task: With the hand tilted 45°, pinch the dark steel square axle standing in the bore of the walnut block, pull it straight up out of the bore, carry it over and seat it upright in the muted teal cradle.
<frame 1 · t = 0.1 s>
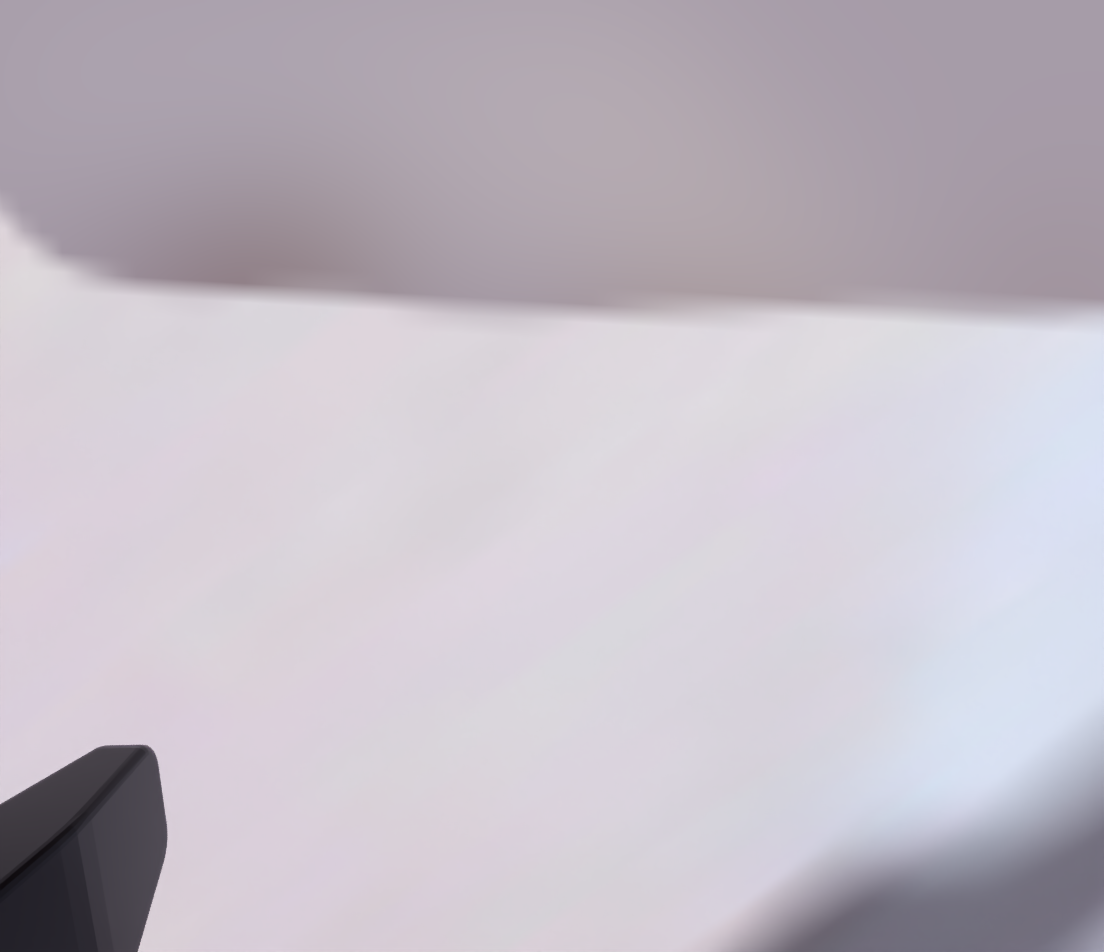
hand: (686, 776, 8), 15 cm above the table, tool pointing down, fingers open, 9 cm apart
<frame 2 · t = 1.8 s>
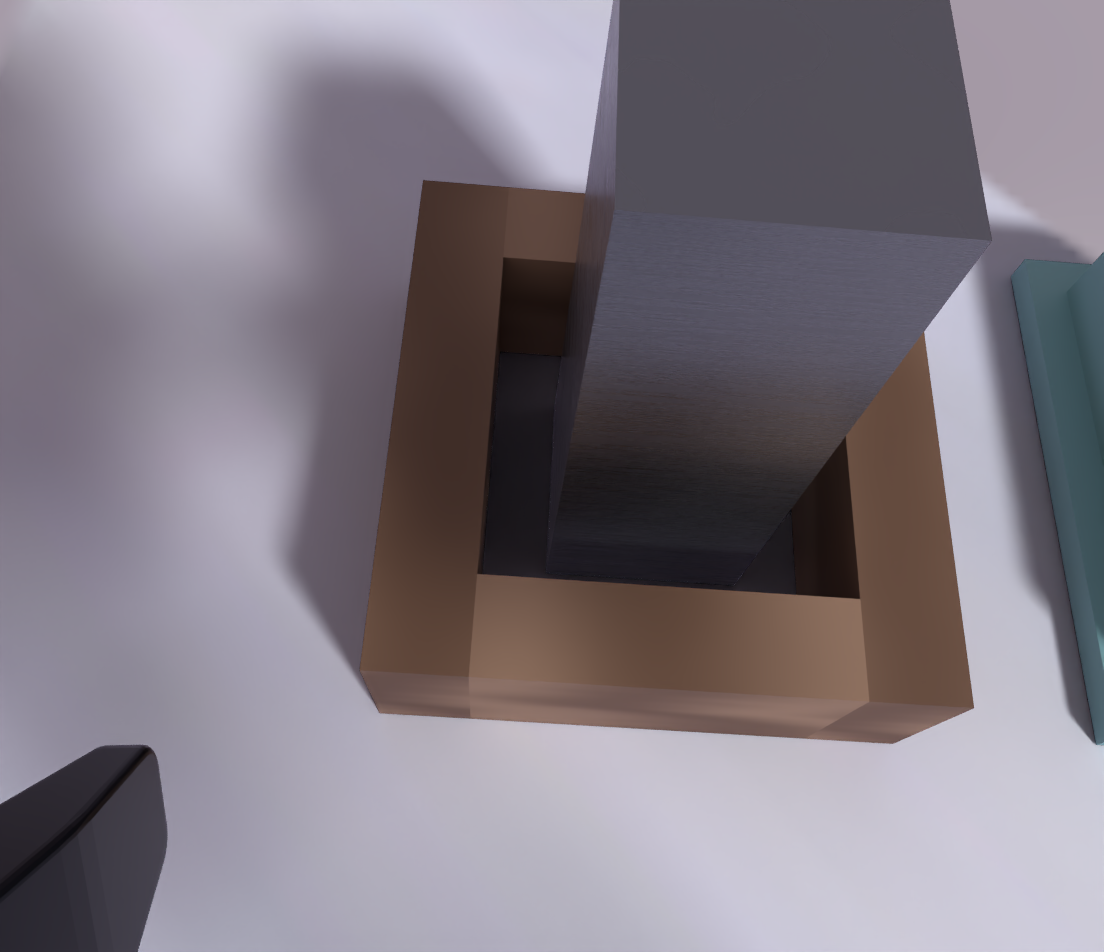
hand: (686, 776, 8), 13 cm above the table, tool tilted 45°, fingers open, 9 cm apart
bore block: (641, 492, 24), on the table
square axle: (692, 354, 18), in the bore block
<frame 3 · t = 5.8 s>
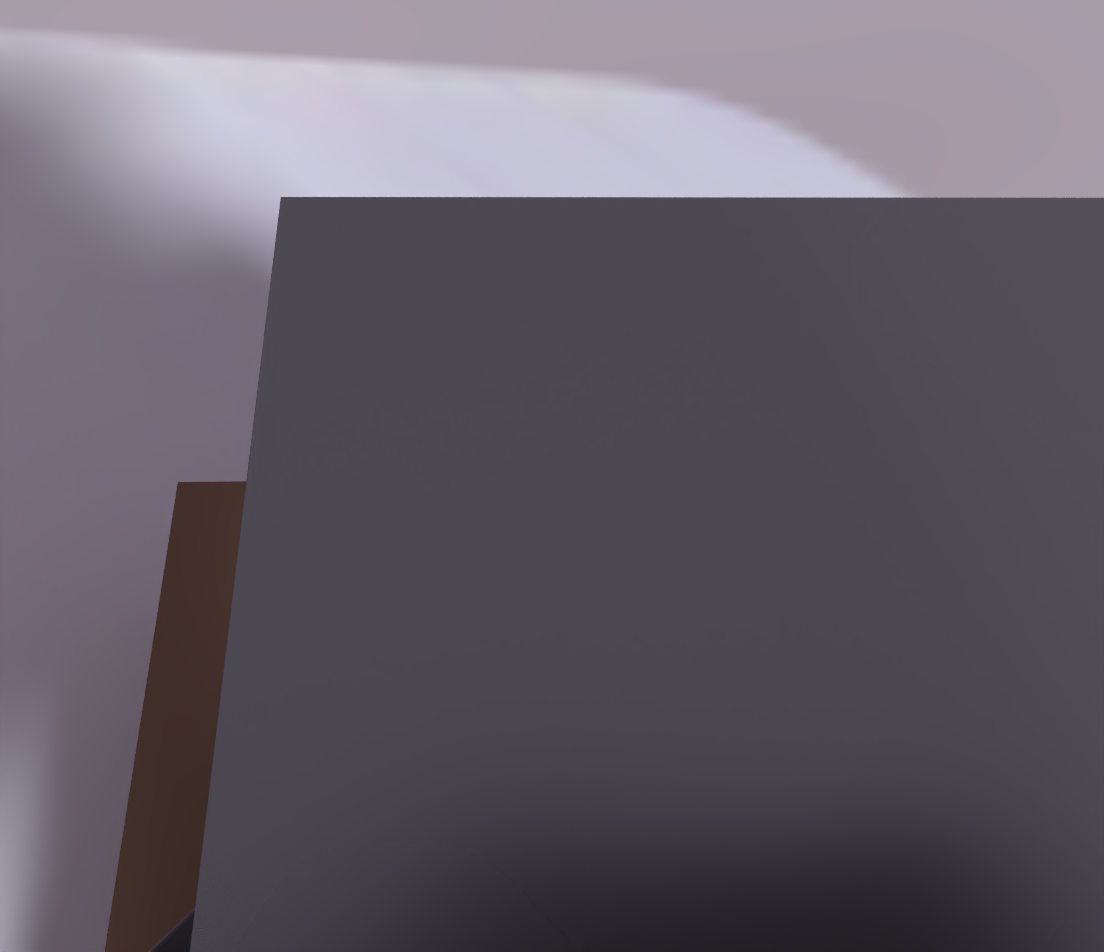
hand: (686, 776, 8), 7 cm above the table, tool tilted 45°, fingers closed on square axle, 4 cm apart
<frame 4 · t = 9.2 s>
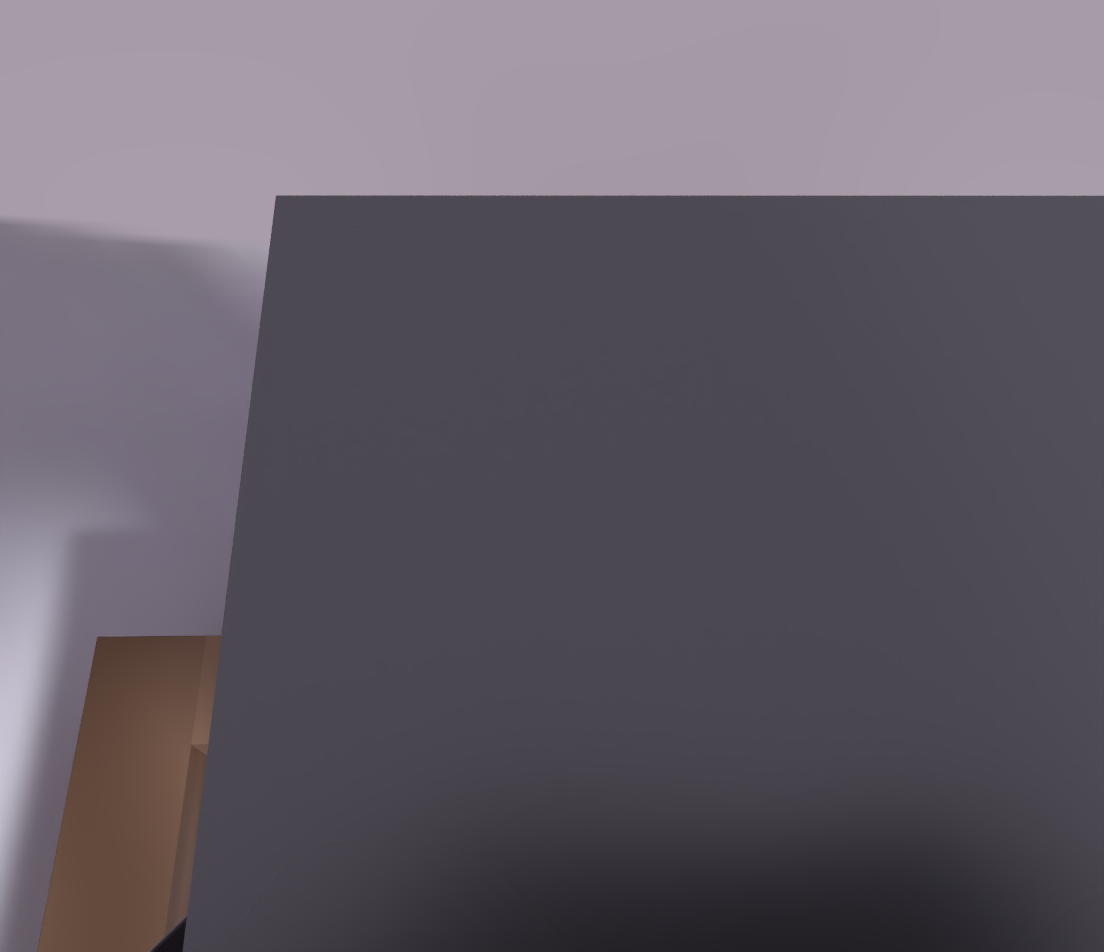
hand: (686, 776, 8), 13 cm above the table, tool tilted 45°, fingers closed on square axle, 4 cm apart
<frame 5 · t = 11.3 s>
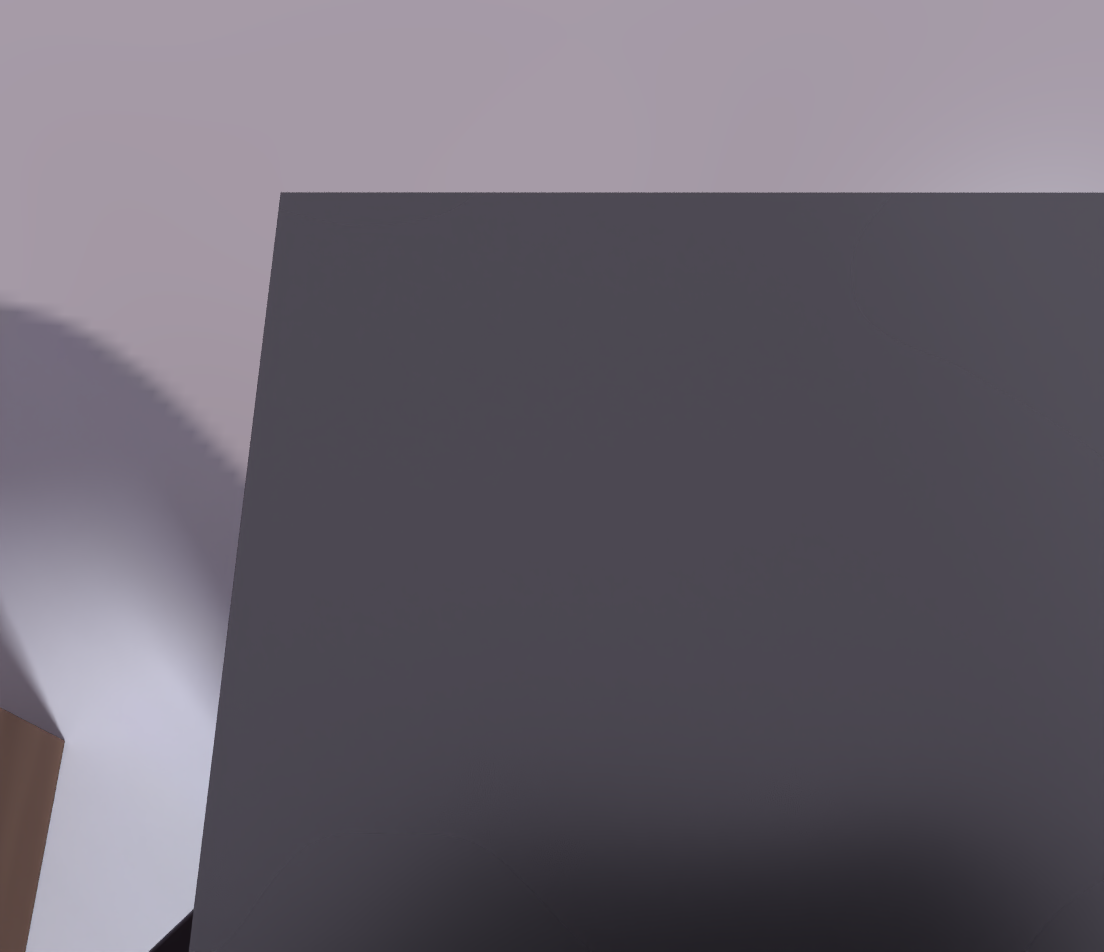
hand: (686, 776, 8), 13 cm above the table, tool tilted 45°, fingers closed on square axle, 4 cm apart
when the fingers open (9 cm above the table, at t = 12.9 s): square axle drops 1 cm, resting on cradle.
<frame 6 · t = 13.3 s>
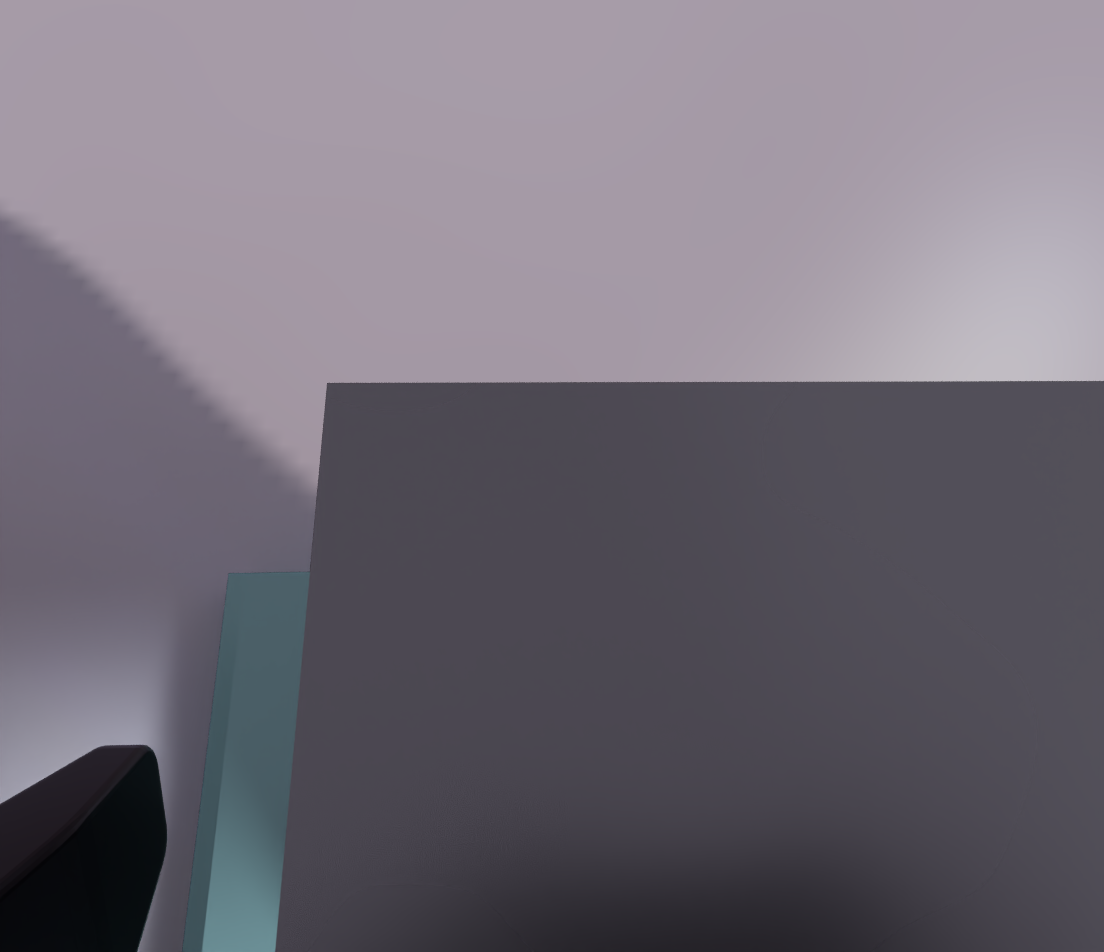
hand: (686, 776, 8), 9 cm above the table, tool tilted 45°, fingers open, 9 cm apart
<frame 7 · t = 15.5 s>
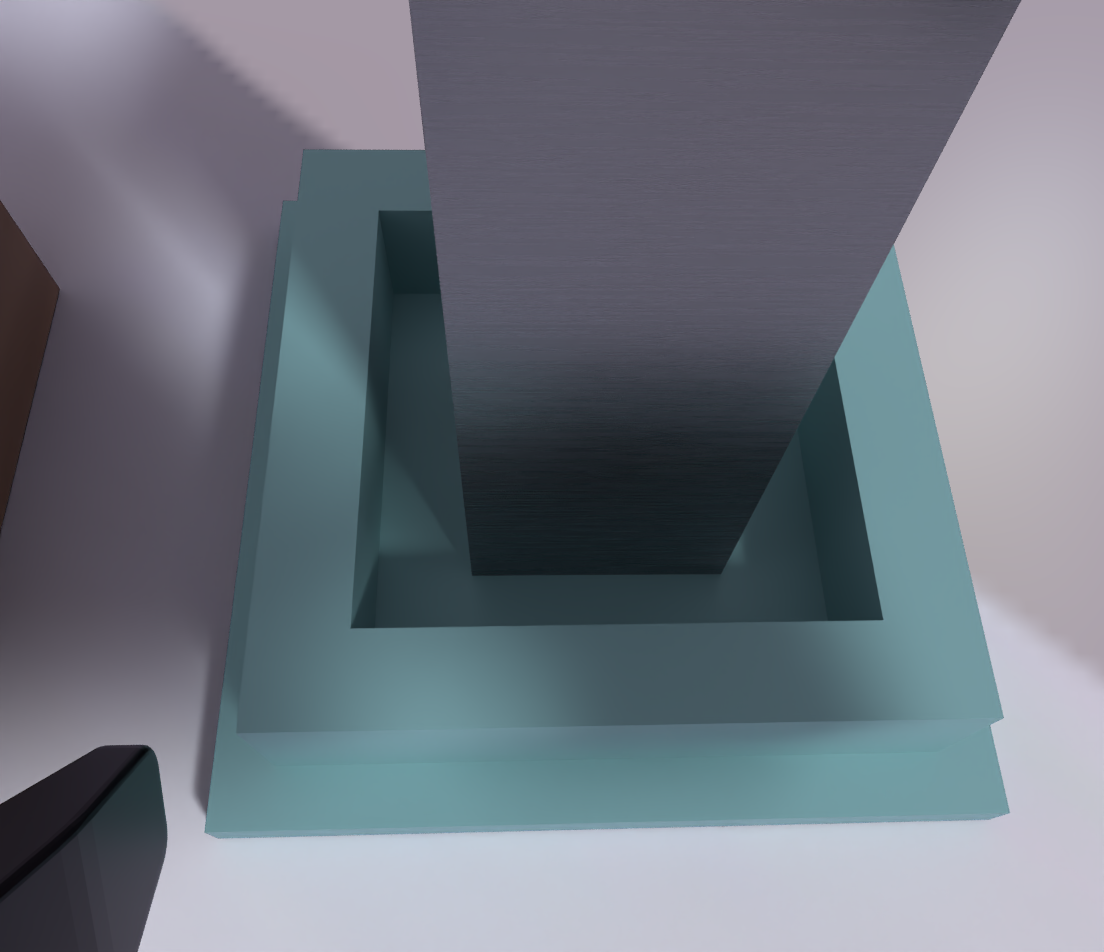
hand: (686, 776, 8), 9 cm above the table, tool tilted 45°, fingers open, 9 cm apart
cradle: (592, 482, 19), on the table
square axle: (627, 236, 13), in the cradle, point 7 cm above the table
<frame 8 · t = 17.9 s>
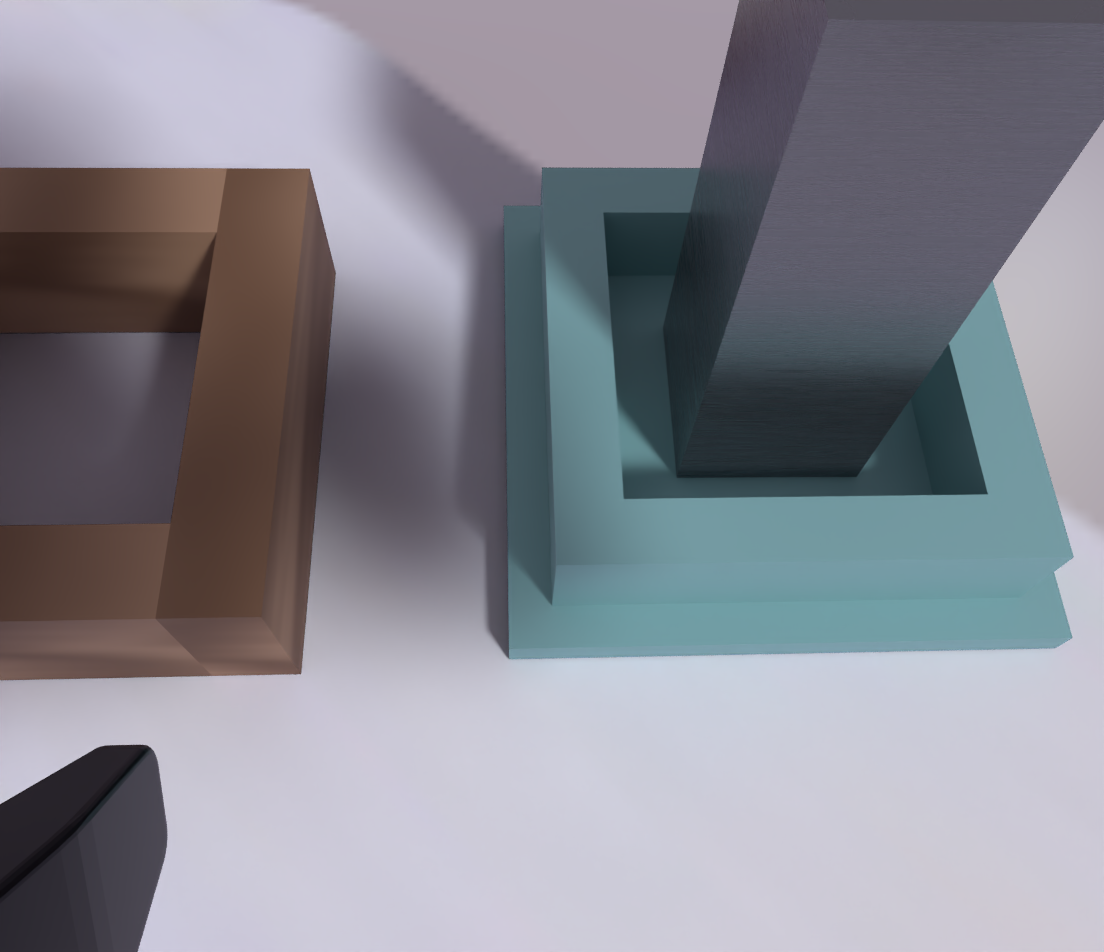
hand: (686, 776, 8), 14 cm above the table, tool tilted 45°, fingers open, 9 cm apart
cradle: (751, 415, 26), on the table
bore block: (90, 454, 25), on the table
square axle: (828, 228, 19), in the cradle, point 7 cm above the table
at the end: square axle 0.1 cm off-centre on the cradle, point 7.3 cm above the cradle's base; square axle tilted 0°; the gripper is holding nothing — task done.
